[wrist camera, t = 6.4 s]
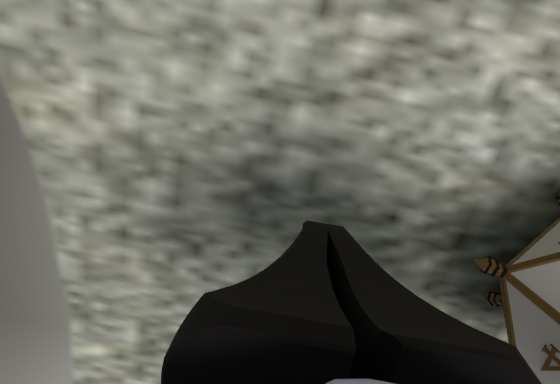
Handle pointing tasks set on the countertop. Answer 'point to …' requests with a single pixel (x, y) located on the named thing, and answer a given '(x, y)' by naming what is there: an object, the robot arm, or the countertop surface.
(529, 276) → the game die
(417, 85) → the countertop surface
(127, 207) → the countertop surface
